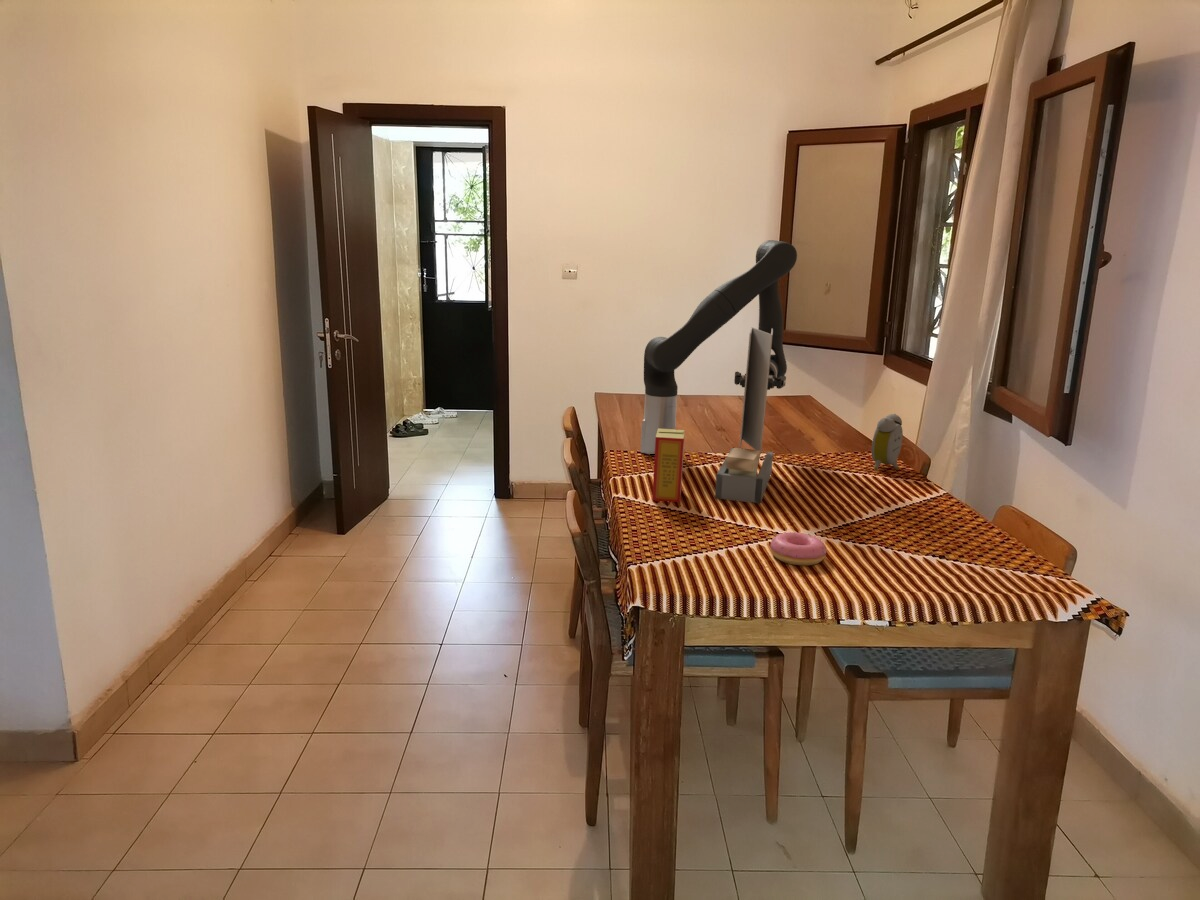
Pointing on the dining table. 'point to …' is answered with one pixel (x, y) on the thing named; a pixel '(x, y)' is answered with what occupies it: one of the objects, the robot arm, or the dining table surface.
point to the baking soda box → (668, 465)
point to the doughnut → (798, 548)
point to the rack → (743, 483)
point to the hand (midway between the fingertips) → (756, 384)
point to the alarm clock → (887, 441)
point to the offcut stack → (743, 462)
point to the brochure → (756, 388)
